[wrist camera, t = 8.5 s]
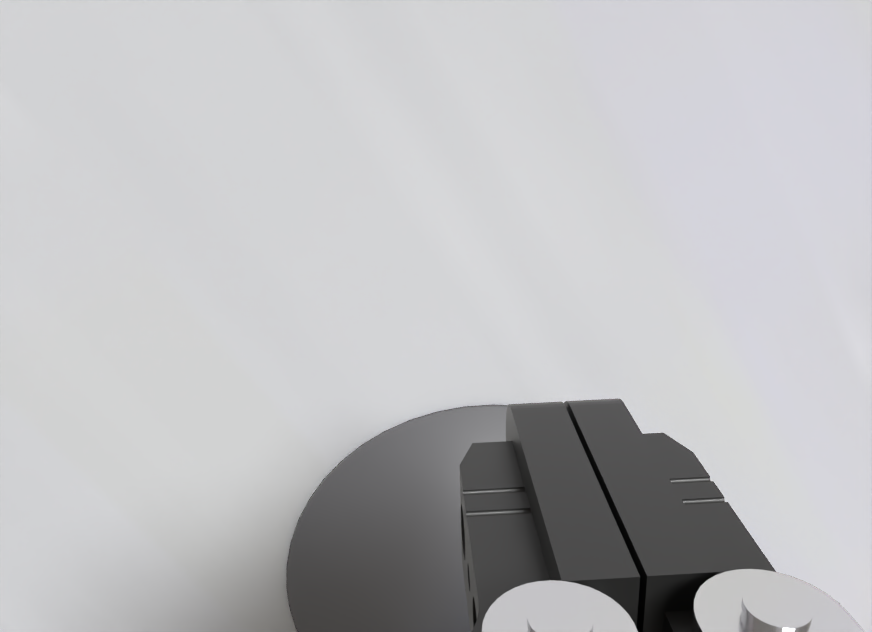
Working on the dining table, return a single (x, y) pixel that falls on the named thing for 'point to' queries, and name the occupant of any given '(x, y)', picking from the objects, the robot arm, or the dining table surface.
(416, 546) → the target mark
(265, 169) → the dining table surface
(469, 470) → the robot arm
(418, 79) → the dining table surface
